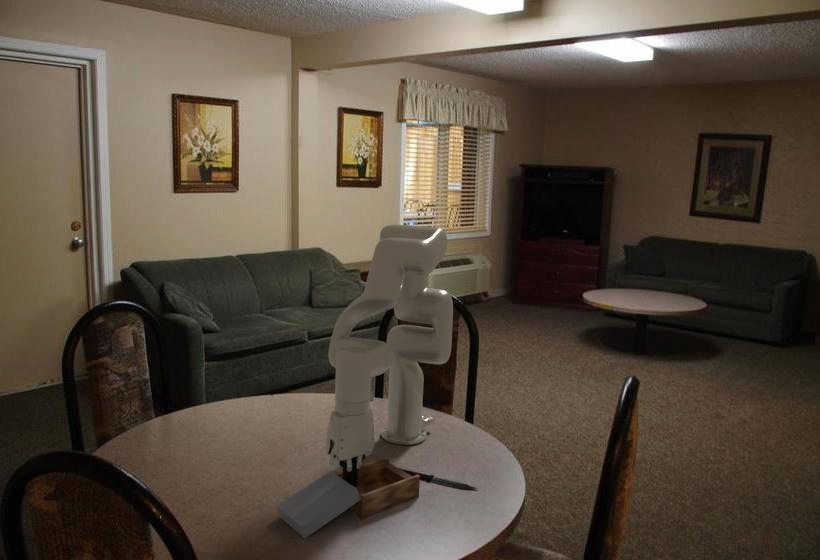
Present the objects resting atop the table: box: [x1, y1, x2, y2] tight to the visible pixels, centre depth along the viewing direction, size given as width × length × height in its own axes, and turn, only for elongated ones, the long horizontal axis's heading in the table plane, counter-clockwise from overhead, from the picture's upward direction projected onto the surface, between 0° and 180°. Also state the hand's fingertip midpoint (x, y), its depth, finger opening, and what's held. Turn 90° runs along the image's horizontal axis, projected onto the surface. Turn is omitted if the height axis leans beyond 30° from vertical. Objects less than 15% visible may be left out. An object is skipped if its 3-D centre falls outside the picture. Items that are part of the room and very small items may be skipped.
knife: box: [398, 467, 479, 490], centre depth 155 cm, size 21×1×3 cm
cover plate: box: [276, 470, 360, 539], centre depth 136 cm, size 14×10×3 cm
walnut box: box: [334, 456, 421, 520], centre depth 146 cm, size 16×12×5 cm
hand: (350, 484), depth 141 cm, fingers closed
